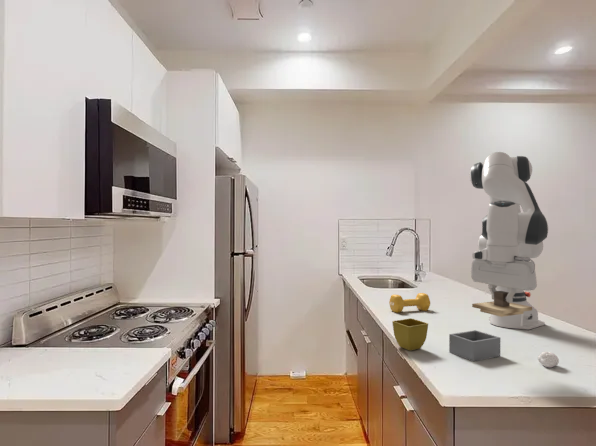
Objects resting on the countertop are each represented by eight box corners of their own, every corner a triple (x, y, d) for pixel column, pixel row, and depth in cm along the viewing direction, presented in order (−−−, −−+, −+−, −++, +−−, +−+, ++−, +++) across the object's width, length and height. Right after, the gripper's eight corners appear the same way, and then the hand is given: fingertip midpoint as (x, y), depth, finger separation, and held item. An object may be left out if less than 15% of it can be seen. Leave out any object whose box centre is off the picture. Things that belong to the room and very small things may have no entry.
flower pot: (409, 353, 139) (409, 326, 139) (391, 346, 146) (391, 320, 146) (428, 349, 143) (428, 323, 143) (410, 343, 151) (410, 318, 150)
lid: (501, 307, 134) (501, 288, 134) (532, 314, 124) (532, 293, 124) (472, 310, 129) (472, 290, 128) (502, 318, 119) (502, 296, 119)
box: (475, 347, 145) (475, 330, 145) (500, 356, 136) (500, 337, 136) (449, 352, 140) (449, 334, 140) (473, 361, 131) (473, 342, 131)
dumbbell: (421, 308, 210) (421, 291, 210) (432, 311, 202) (432, 294, 201) (387, 310, 205) (387, 293, 205) (396, 314, 196) (396, 296, 196)
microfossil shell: (549, 354, 124) (562, 353, 126) (533, 349, 129) (545, 348, 131) (549, 369, 124) (561, 368, 126) (533, 364, 129) (545, 363, 131)
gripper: (542, 257, 118) (541, 306, 118) (482, 252, 137) (482, 294, 137) (526, 258, 116) (526, 308, 116) (468, 252, 134) (467, 296, 134)
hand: (501, 301), depth 126 cm, fingers closed on lid, 3 cm apart
